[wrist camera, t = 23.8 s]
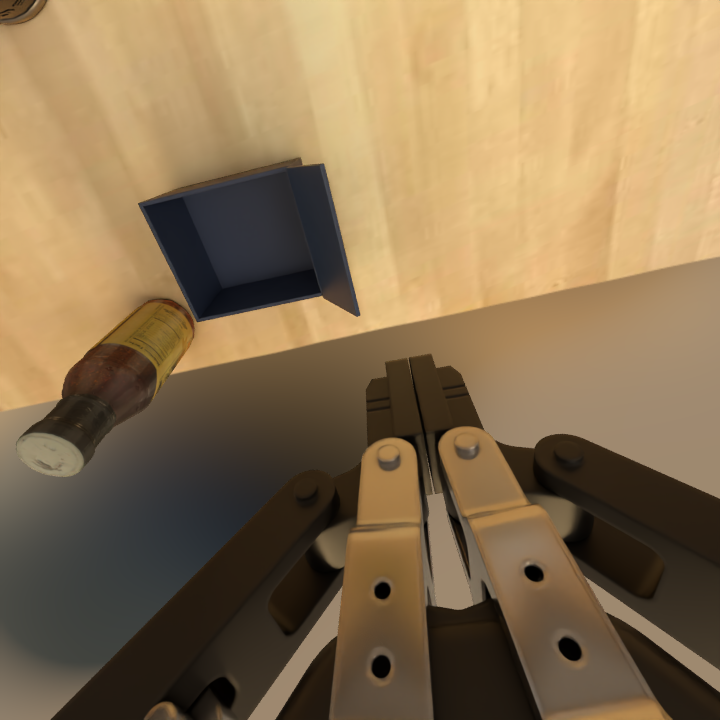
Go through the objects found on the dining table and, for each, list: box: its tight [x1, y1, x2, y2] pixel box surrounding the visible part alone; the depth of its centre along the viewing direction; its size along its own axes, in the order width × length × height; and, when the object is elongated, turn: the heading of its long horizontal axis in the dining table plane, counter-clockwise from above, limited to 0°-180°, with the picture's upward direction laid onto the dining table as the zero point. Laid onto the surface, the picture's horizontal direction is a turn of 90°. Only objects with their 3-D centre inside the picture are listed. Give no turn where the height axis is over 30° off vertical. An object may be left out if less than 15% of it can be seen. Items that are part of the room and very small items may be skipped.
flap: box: [286, 164, 360, 317], centre depth 27 cm, size 10×6×1 cm
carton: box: [138, 158, 323, 322], centre depth 33 cm, size 10×12×7 cm
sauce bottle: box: [16, 299, 194, 477], centre depth 33 cm, size 6×6×20 cm
